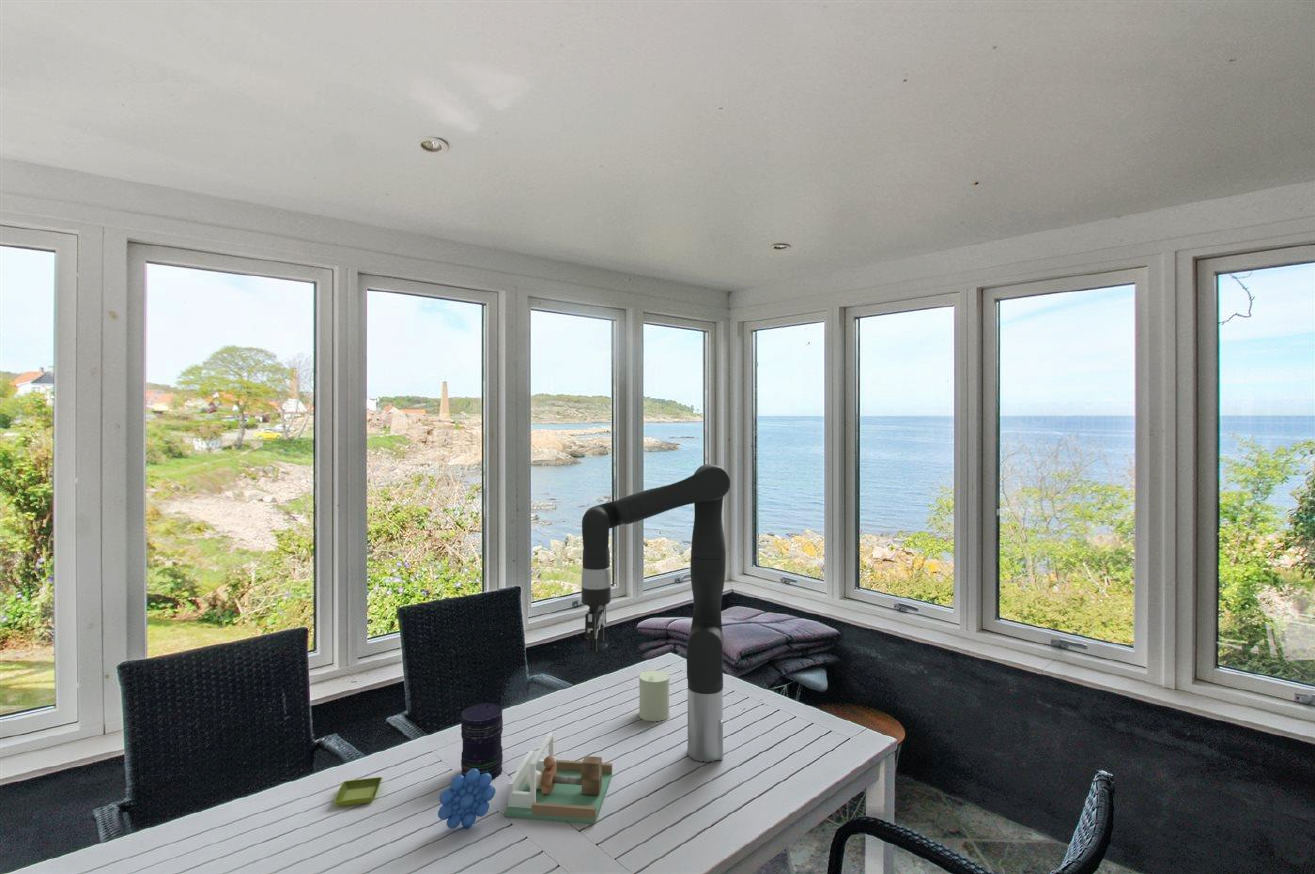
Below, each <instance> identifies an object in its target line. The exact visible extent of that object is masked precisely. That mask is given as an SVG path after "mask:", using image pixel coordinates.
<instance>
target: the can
mask: <svg viewBox="0 0 1315 874" xmlns="http://www.w3.org/2000/svg"><path fill="white" fill-rule="evenodd" d="M670 677H671V676H670V674H669V673H668V672H666V671H661V670H646V671H643V672H641V673H640V674H639V676H638V679H639V684H638V685H639V691H638V692H639V699H638V700H639V703H638V704H639V706H638V707H639V708H638V716H640V717H641V718H642V720H643V721H646V722H651V721H653V722H656V721H658V722H662V721H661V720H663V721H665V719H666V720H667V719H669V718H670V714H671V713H670ZM640 717H639V718H640ZM641 718H640V719H641ZM653 722H652V723H653Z"/></svg>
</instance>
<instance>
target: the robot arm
mask: <svg viewBox="0 0 1315 874" xmlns="http://www.w3.org/2000/svg"><path fill="white" fill-rule="evenodd" d="M730 487H731V478H730V474H728V472H727V471H726V470H725V469H724V468H723V467H721V466H719V465H716V464H713V463H712V464H711V463H706V464H702V465H701V466H699V467H698V468H697V469H696V470H695V471H694V474H692V475H691V476H688V477H686V478H684V479H682V480H680V481H676V482H673V483H671V484H667V485H663V486H658V487H654V488H649V489H646V490H642V491H639V492H636V493H633V494H630V495H626V496H624V497H622V498H619V499H617V500H613V501H609V502H605V503H600V504H598V505H594V506H592V507H590V508H588V509H587V510H586V511H585V513H584V515H583V516H582V518H581V519H582V520H581V533H582V534H581V536H582V548H583V549H582V570H581V571H582V572H581V597H580V599H581V603H582V604H583V605H585V606H588V611H587V612H586V613H585V614H584V619H585V620H584V621H585V622H584V624H585V625H584V628H585V629H584V638H585V639H587V653H588V654H594V655H595V654H596V653H597V652H598V648H597V647H598V643H600V644H602V643H603V642H604V640H605V627H606V623H607V605H609V604H610V603H611V600H612V599H611V597H612V595H611V590H612V589H611V587H612V586H611V585H612V580H611V579H612V578H611V577H612V576H611V568H610V567H611V562H610V561H611V557H610V556H611V554H610V553H611V551H610V547H609V539H610V530H611V529H612V528H615V527H619V526H621V525H631V524H633V523H634V524H635V523H637V522H641V521H643V520H646V519H649V518H652V517H654V516H657V515H659V514H662V513H665V512H668V511H670V510H671V511H672V510H674V509H678V508H680V507H684V506H688V505H692V504H694V506H693V507H694V518H693V519H694V520H693V526H692V527H693V528H692V536H691V547H690V548H691V549H690V566H689V568H690V582H691V583H690V584H691V590H692V598H693V599H692V600H693V610H692V619H691V627H690V631H689V634H688V638H687V641H686V642H687V643H686V679H687V743H686V744H687V745H686V746H687V755H688V757H690V758H691V759H693V760H694V759H695V761H697V760H699V761H698V762H702V761H704V762H705V763H711V762H716V761H723V759H724V673H723V672H724V665H723V664H724V634H723V621H722V599H723V593H724V588H725V579H726V569H727V567H726V565H727V564H726V563H727V562H726V561H727V550H726V549H727V548H726V540H725V539H726V538H725V533H724V531H725V530H724V525H723V517H722V516H723V515H722V514H723V504H724V503H723V502H724V497H725V496H726V495H727V494H728V493H729V491H730ZM591 631H592V633H591ZM715 760H716V761H715ZM710 761H711V762H710Z"/></svg>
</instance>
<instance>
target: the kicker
mask: <svg viewBox="0 0 1315 874" xmlns="http://www.w3.org/2000/svg"><path fill="white" fill-rule="evenodd" d="M544 759H545V760H544V766H545V769H544V771H543V772H542V794H551V792H552V790H553V788H554V786H555V784H556V783H557V784H572V785H582V794H592V795H599V794H600V791H601V788H602V763H603V757H602V756H601V757H600V756H590V755H589V756H587V755H585V756H584V757H583V759H582V760H581V761H582V777H572V776H557V763H555V761H556V760H555V757H554V758H553V757H552V756H549V755H548V756H546V757H545V758H544Z"/></svg>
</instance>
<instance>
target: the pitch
mask: <svg viewBox="0 0 1315 874" xmlns="http://www.w3.org/2000/svg"><path fill="white" fill-rule="evenodd" d="M547 748H548V756H552V757H553V758H554V759H555V732H554V731H549V732H548V734H547V736H546V737H545V739H544V740H543V743H542V744H541V745H540V747H539V748H538V750H537V752H536V753H535V750H534V749H533V750H532V749H530V750H529V751H528V753H527V754H526V756H525V757H524V758H523V760H522V762H521V763H520V765H519V766H518V768H517V770H516V771H515V773H514V774H513V776H512V777H511V779H510V780H509V782H508V783H507V807H506V809H505V811H504V817H505V818H517V819H529V820H530V819H531V820H540V821H541V820H542V821H543V820H545V821H553V822H554V821H555V822H567V823H568V822H570V823H583V824H593V825H594V824H596V823H597V820H598V817H599V815H600V812H601V808H602V806H603V804H604V800H605V798H606V795H607V791H608V789H609V787H610V783H611V780H612V777H613V763H612V762H611V763H610V762H602V788H601V791H600V794H599V795H592V794H582V785H572V784H557V783H556V784H555V786H554V788H553V790H552V792H551V794H542V787H541V788H539V789H538V790H536V770H538V771H540V772H541V773H542V772H543V771H544V769H545V766H544V760H545V758H541V757H542V756H543V754H544V753H545V751H546V749H547ZM582 761H583V760H581V761H580V760H564V759H563V760H562V759H556V760H555V763H557V776H572V777H582ZM529 773H530V788H529V787H528V786H527V782H526V781H527V776H528V775H529Z"/></svg>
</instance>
